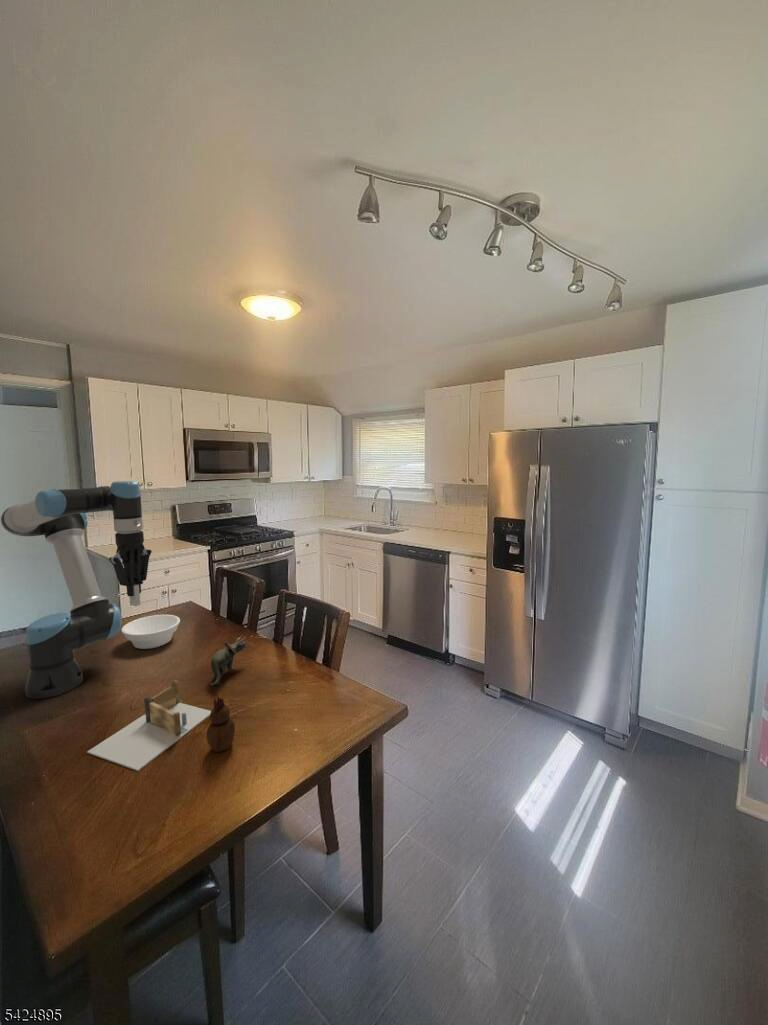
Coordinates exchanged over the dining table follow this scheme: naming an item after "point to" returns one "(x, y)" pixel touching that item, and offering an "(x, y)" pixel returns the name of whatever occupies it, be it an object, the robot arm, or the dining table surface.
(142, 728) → the card
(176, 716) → the fence panel
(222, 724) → the wooden figurine
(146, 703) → the fence fixed
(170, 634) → the bowl
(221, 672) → the dinosaur figurine
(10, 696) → the dining table surface
